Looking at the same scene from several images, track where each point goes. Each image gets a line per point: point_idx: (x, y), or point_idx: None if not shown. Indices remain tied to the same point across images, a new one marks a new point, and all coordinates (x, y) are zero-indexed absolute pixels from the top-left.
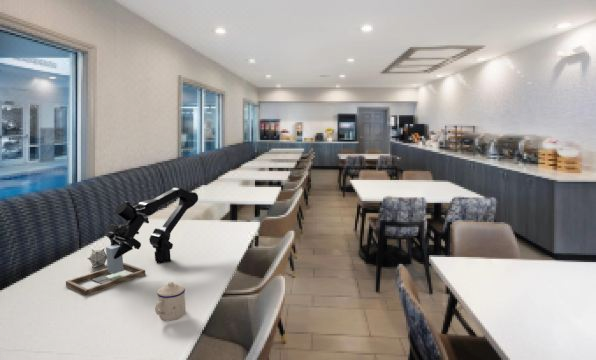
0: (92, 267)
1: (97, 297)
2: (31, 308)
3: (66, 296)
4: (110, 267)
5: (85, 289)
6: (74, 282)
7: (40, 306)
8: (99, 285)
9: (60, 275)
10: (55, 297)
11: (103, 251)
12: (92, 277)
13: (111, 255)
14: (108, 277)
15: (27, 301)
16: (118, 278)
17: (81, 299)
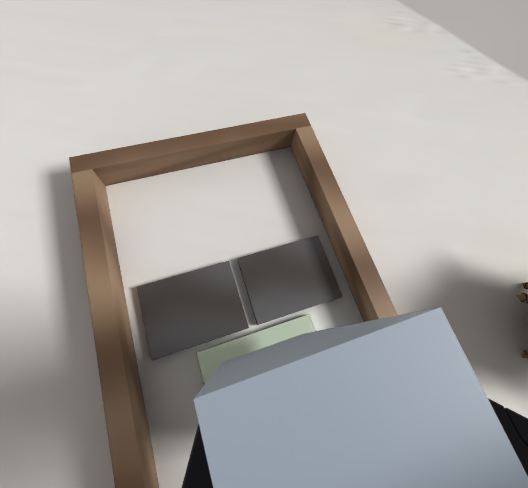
0: (523, 283)
1: (2, 213)
2: (128, 9)
3: (153, 110)
4: (266, 348)
5: (91, 160)
6: (300, 157)
7: (122, 30)
8: (87, 234)
9: (462, 138)
10: (179, 79)
11: None
12: (335, 248)
13: (227, 371)
14: (274, 331)
15: (215, 12)
16: (116, 378)
17: (52, 149)
